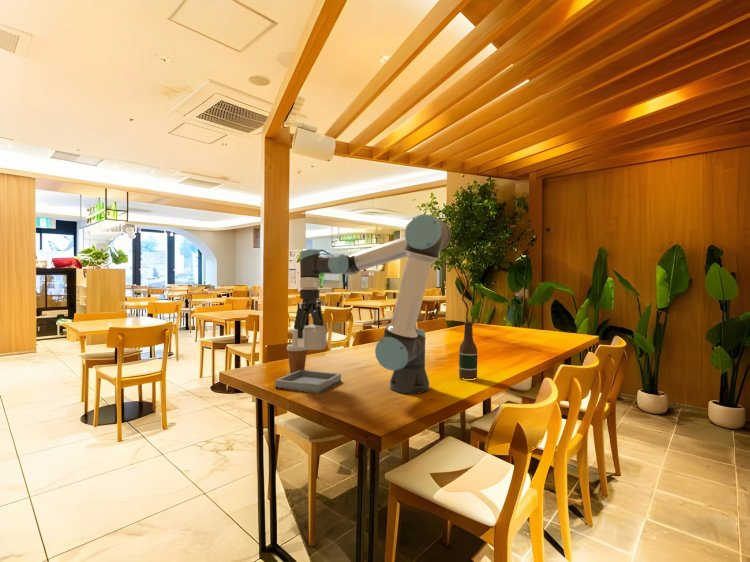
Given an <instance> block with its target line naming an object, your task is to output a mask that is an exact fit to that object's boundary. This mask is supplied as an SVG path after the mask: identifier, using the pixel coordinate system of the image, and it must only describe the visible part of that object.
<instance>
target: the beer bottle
mask: <svg viewBox="0 0 750 562" xmlns="http://www.w3.org/2000/svg"><path fill="white" fill-rule="evenodd" d="M473 325H474V323H473V322H472V321H464V329H463V330H464V331H463V333H464V334H463V340H462V342H461V343H460V346H459V349H458V351H459V353H458V355H459V357H458V359H459V360H458V363H459V364H458V376H459V379H460V378H464V379H474V378H477V379H478V348H477V345H476V343H475V341H474V338H473V337H474V332H473Z"/></svg>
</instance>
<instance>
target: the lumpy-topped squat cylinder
mask: <svg viewBox="0 0 750 562" xmlns="http://www.w3.org/2000/svg"><path fill="white" fill-rule="evenodd" d="M301 327H302V326H301ZM303 330H305V347H298V330H295V329H294V328H292V337H291V338H292V339H291V341H292V342H291V344H292V348H294V349H301V350H307V351H317V350H319V351H320V350H325V348H326V347H327V337H328V336H327V335H328V333H327V332H328V331H327V328H326V327H325V326H324V325H323V326H321V325H315V324H313V323H311V324H308V325H306V324H305V326H304V329H303Z"/></svg>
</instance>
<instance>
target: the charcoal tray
mask: <svg viewBox="0 0 750 562" xmlns="http://www.w3.org/2000/svg"><path fill="white" fill-rule="evenodd" d="M340 382H342V374H341V373H336V372H334V373H333V372H327V371H325V372H324V371H317V370H309V369H308V370H307V369H306V370H305V369H304V370H299V371H296V372H294V373H292V372H290V374H288V375H285V376H282V377H279V378H276V379H275V381H274V388H275V387H279V388H285V389H284V390H287V389H291V390H290V391H294V390H297V392H302V391H304V392H303V393H311V394H321V393H323V392H325V391H326V390H329V389H330V388H332V387H333V386H335V385H337V384H339V383H340ZM279 388H278V389H279Z"/></svg>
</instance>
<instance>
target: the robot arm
mask: <svg viewBox="0 0 750 562" xmlns="http://www.w3.org/2000/svg"><path fill="white" fill-rule="evenodd" d="M451 236H452V235H451V229H450V227H449V226H448V224H447V223H446V222H445V221H443V220H441V219H439V218H437V216H435V215H431V214H425V213H422V214H418V215H415V216H414V217H412V218H411V219H410V220H409V221H408V222H407V223H406V226H405V229H404V236H403V237H401V238H397V239H393V240H391V241H388V242H385V243H382V244H379V245H375V246H372V247H370V248H367V249H364V250H361V251H357V252H355V253H352V254H348V255H345V254H343V253H342V254H341V253H329V254H321V253H320V250H319V249H314V248H311V249H310V248H309V249H308V248H304V249H301V250H300V256H299V257H300V259H299V266H300V276H299V277H300V279H299V284H300V286H299V287H300V288H301V289H300V290H299V298H300V300H302V302H297V309H296V315H295V320H294V324H293V329H295V330H298V347H305V330H303V329H304V326H305V325H306V323H307V320H308V317H309V315H311V318H312V320H313V323H314V325H321V326H323V327H324V317H323V313H322V312H323V311H322V303H321V302H322V301H320V300H319V299H320V290H319V289H320V275H323V274H325V275H326V274H327V275H356V274H358V273H360V272H361V271H363V270H367V269H371V268H375V267H378V266H380V265H384V264H388V263H390V262H393V261H398V260H401V259H404V258H406V262H405V266H404V270H403V274H402V278H401V283H400V287H399V289H398V293H397V298H396V302H395V306H394V309H393V314H392V317H391V322H389V324H387V325H386V326H385V327H384V331H383V335H382V338H380V340H379V341H378V342H377V343H376V345H375V349H374V354H375V358H376V359H377V362H378V364H379V365H380V366H381V367H383V368H384V369H386V370H387V371H392V374H391V378H390V381H389V388H390V390H391V391H393V390H394V392H397V393H400V392H401V393H402V394H420V393H419V392H423V393H425V392H424V391H426V392H428V391H429V390H430V381H429V377H428V374H427V370H426V338H427V337H426V331H425V329H422V328H416V326H417V322H418V318H419V315H420V312H421V311H420V310H421V307H422V303H423V299H424V295H425V292H426V288H427V284H428V280H429V277H430V273H431V269H432V265H433V264H434V263H433V262H436V261H438V260H439V255H440V252H441V251H442V250H444V249H445V248H446V247H447V246H448V245H449V243H450V240H451ZM301 326H302V327H301ZM428 389H429V390H428ZM427 390H428V391H427Z"/></svg>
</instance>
